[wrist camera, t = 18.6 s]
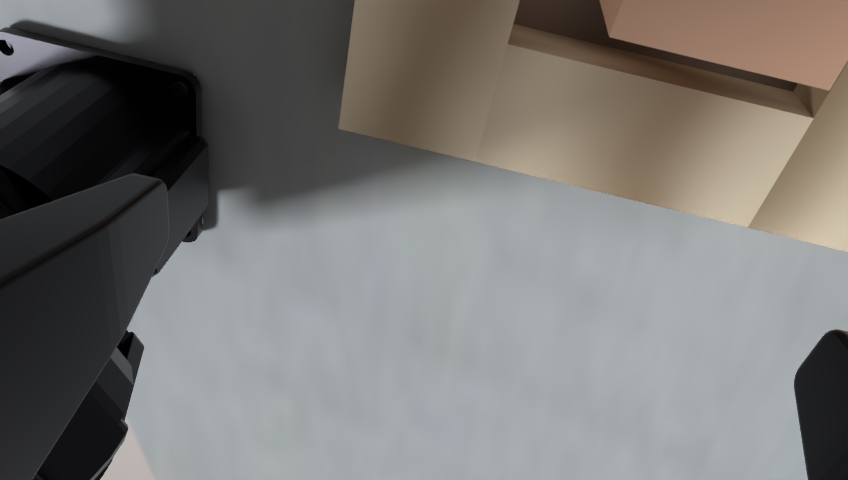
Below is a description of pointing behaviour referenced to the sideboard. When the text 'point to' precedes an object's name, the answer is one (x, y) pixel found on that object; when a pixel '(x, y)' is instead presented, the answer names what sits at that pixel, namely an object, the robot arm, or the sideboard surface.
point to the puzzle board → (600, 111)
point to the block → (742, 33)
